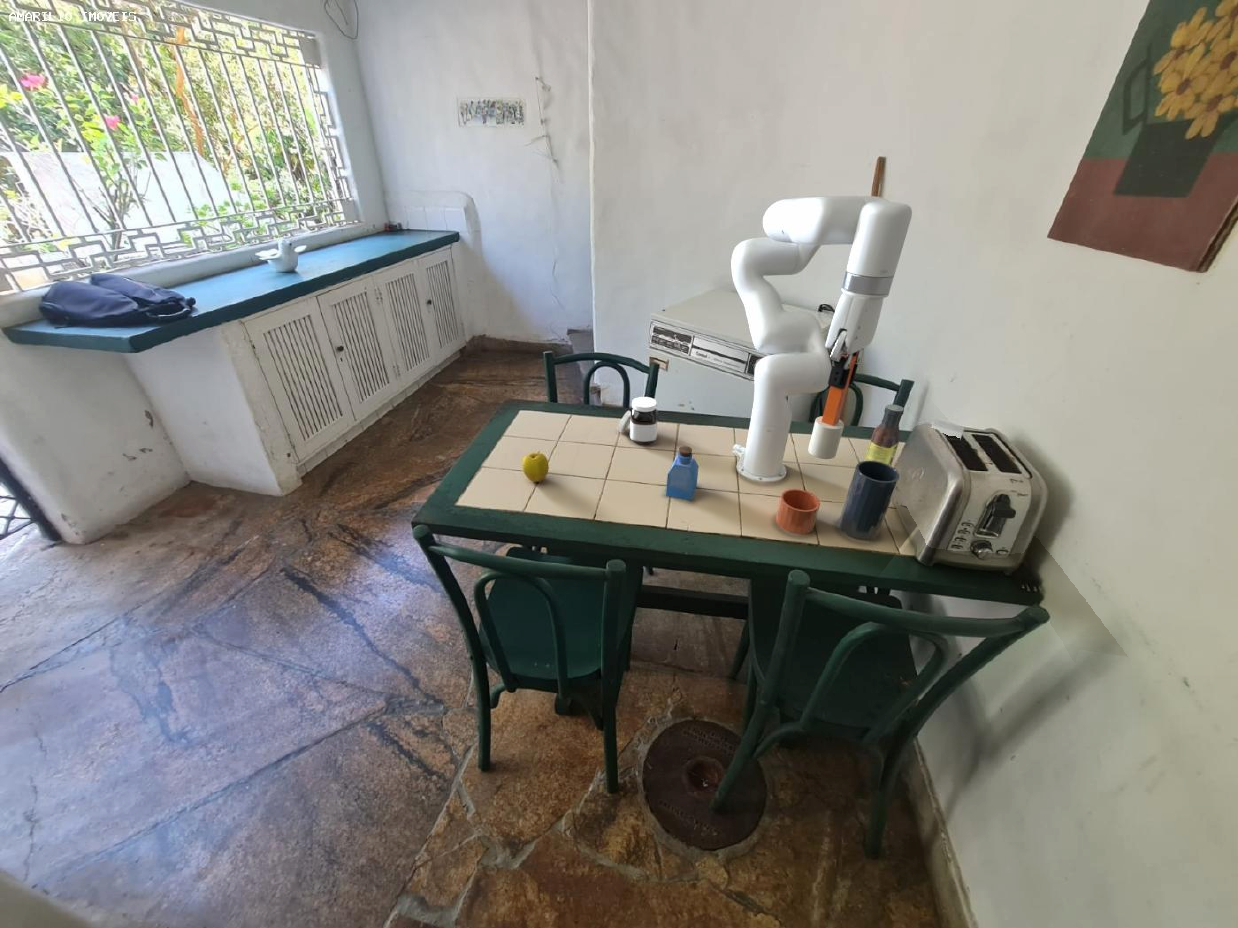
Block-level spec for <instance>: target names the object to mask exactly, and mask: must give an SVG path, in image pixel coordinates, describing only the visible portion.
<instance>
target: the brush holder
mask: <svg viewBox="0 0 1238 928" xmlns="http://www.w3.org/2000/svg"><path fill="white" fill-rule="evenodd" d="M820 508H821V500H820V499H819V498H818V496H817V495H815V494H813V493H812V492H810V491H807V490H804V489H800V488H799V489H798V488H790V489H787V490H786V489H785V490H784V491H782V493H781V496H780V499H779V503H778V507H777V511H776V515H775V521H776V524H777V525H778V526H779V527H780V528H781V529H782V530H783V531H785V532H788V533H791V534H795V535H805V534H808V533H811V532H812V531H813V530H814V527H815V526H816V525H815V524H816V520H817V517H818V514H819V510H820Z"/></svg>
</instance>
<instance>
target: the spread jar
mask: <svg viewBox="0 0 1238 928" xmlns="http://www.w3.org/2000/svg"><path fill="white" fill-rule="evenodd" d="M657 406H658V401H657V400H656V399H655V398H652V397H649V396H638V397H635V398H633V399H632V402H631V409H630V410H627V411H626V412H625V413H624V415H623V416H622V417H621V419H620V421H619V423H618V425H617V429H616V431H617V432H619V433H620V434H623V433H624V432H625V431H626V430H627V429H628V427H629V438H630V441H631V442H632V443H635V444H637V445H644V446H645V445H650V444H653V443H655V442H656V440H657V436H658V435H657V433H658V419H659V418H658V417H659V415H658V408H657Z"/></svg>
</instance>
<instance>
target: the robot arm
mask: <svg viewBox="0 0 1238 928" xmlns="http://www.w3.org/2000/svg"><path fill="white" fill-rule="evenodd" d="M912 217H913V210H912V207H911V206H910V205H909V204H906V203H903V202H897V201H890V200H888V199H886V198H884V197H881V196H875V195H860V196H859V195H831V196H830V195H829V196H814V195H813V196H805V197H793V198H784V199H780V200H777V201H776V202H774V203H773V204H771V205H770V206H769V207H768V208H767V209H766V211H765V213H764V215H763V218H762V228H763V230H764V233H765V234H766V237H753V238H749V239H745V240H743V241H741V242H739V243H738V244H737V245H736V246H735V247H734V249H733V251H732V255H731V261H730V262H731V263H730V264H731V266H730V267H731V268H730V269H731V277H732V281H733V284H734V287H735V290H736V292H737V293H738V296H739V297H740V300H741V302H742V304H743V306H744V310H745V315H746V319H747V323H748V327H749V331H750V336H751V340H752V343H753V347H754V348H755V350H756V351H757V352H758V353H760V354H764V355H766V354H767V355H766V356H764V357H762V358H761V359H760V360H758V362H757V363H756V365H755V368H754V374H753V375H754V376H753V377H754V379H753V381H754V392H753V393H754V394H753V402H752V403H753V404H752V411H751V417H750V422H749V428H748V433H747V439H746V445H745V446H743V445H741V444H738V443H735V444H734V445H733V447H732V452H731V454H732V455H733V456H735V457H738V458H739V460H737V463H736V471H737V473H738V474H741V475H742V476H743V477H745V478H747V479H748V480H752V481H755V482H759V483H775V482H779V481H781V480H783V479H785V477H786V475H787V467H786V466H785V465H784V463H783V460H784V456H785V452H786V447H787V443H788V439H789V433H790V429H791V426H792V425H791V424H792V420H793V408H792V406H791V403H790V402H789V401H788V399H787V398H788V397H789V396H794V395H806V394H815V393H820V392H823V391H825V390H826V389H827V388H828V387H831V386H833V387H836V388H839V389H844V388H845V387H846V384H847V380H848V376H849V373H850V369H849V365H850V362H851V358H852V356H854V357H856V361H855V364H854V368H853V372H852V375H851V379H850V382H849V386H850V385H852V384H853V383H854V380H855V377H856V373H857V370H858V366H859V363H860V361H861V357H862V354H863V351H864V348H866V347H868V346H869V345H871V343H872V341H873V339H874V337H875V334H876V331H877V327H878V324H879V321H880V316H881V312H882V309H883V303H884V299H885V298H887V297H889V296H890V292H891V288H892V285H893V281H894V278H895V275H896V272H897V269H898V268H897V267H898V265H899V262H900V258H901V254H902V251H903V247H904V245H905V241H906V238H907V235H908V230H909V228H910V224H911V221H912ZM830 245H832V246H836V245H851V249H850V253H849V257H848V261H847V265H846V270H845V272H844V273H845V274H844V278H843V282H842V287H841V292H842V293H841V295H840V298H839V300H838V302H837V305H836V308H835V310H834V313H833V316H832V321H831V322H830V327H829V330H828V334H827V338H826V340H825V336H824V332H823V328H822V326H821V323H820V321H819V319H818V318H817V317H816V315H814V314H813V313H812V312H811V313H810V312H807V311H786V310H785V308H784V307H783V303H782V298H781V296H780V294H779V292H778V291H777V289H776V288H775V287H774V285H773V284H771V283H770V282H769V281H768V280H767V279H766V278H765V277H764V276H767V277H768V276H792V275H793V276H794V275H797V274H799V273H801V272H802V271H804V269H806V267H807V266H808V265H809V263H810V262H811V261H812V259H813V257H814V256H815V255H816V254H817V252H818V251H819V249H820V248H821V247H822V246H830ZM831 349H832V351H831V354H830V355H829V352H828V350H831ZM842 355H846V356H847V357H846V359H845V357H844V356H842ZM831 361H832V362H831Z"/></svg>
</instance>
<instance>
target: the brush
mask: <svg viewBox="0 0 1238 928" xmlns="http://www.w3.org/2000/svg"><path fill="white" fill-rule="evenodd" d="M842 356H844V357H845V359H846V357H847V356H846V355H842ZM855 361H856V357H854V356H852V358H851V362H850V365H849V369H850V373H849V376H848V380H847V384H846V387H845V388H844V389H839V388H836V387H833V386H829V391H828V395H827V399H826V403H825V406H824V411H823V414H822V415H821V416H818V417H816V418H815V421H814V424H813V428H812V432H811V436H810V441H809V445H808V448H807V451H808V453H809V454H810V455H811V456H813V457H815V458H817V459H822V460H832V459H834V458H835V457H836V455H837V452H838V449H839V445H840V442H841V438H842V436H843V435H842V434H843V431H844V429H845V423H844V421H842V419H840V418H841V414H842V410H843V407H844V404H845V400H846V396H847V393H848V389H849V386H850V385H849V382H850V379H851V375H852V372H853V368H854V364H856V363H855Z"/></svg>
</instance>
